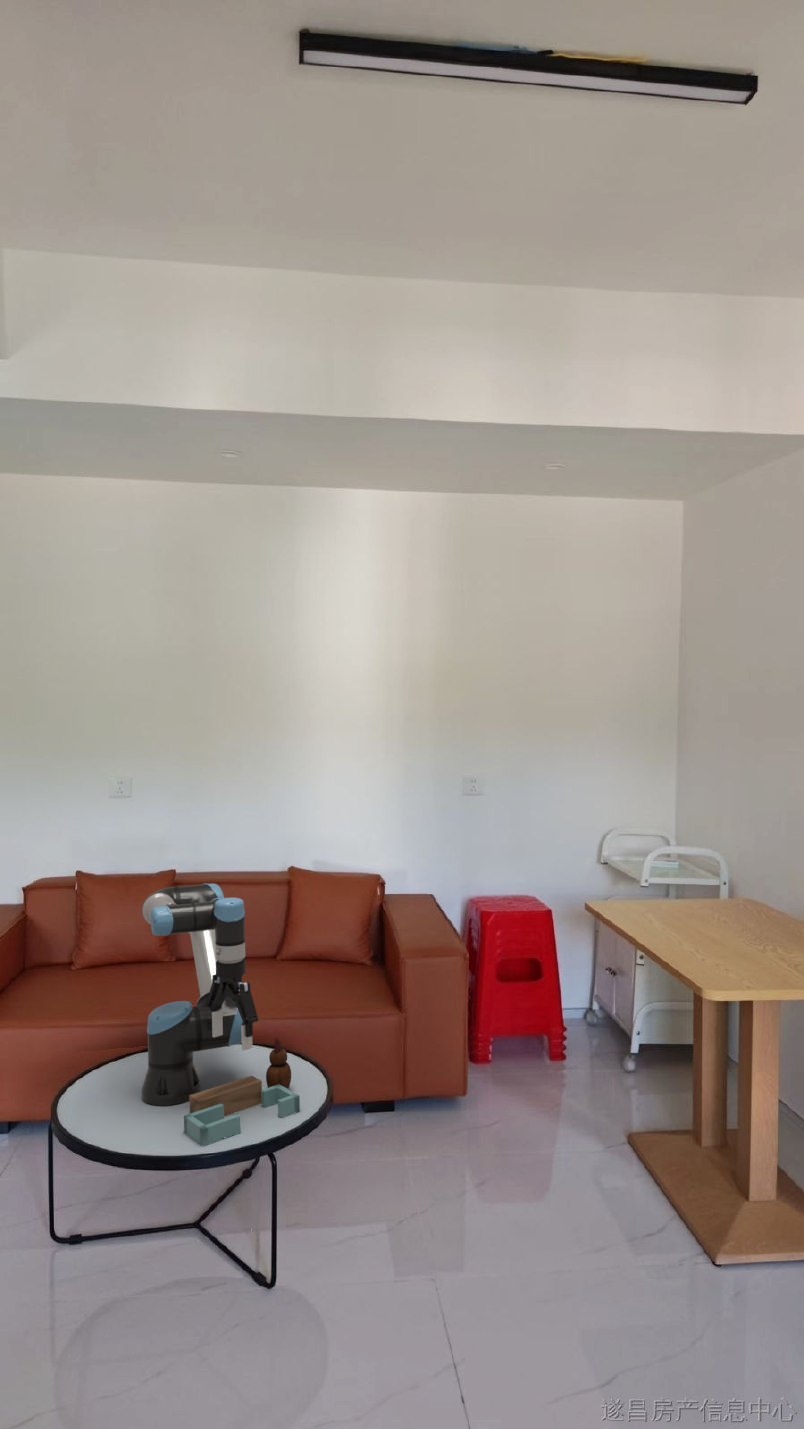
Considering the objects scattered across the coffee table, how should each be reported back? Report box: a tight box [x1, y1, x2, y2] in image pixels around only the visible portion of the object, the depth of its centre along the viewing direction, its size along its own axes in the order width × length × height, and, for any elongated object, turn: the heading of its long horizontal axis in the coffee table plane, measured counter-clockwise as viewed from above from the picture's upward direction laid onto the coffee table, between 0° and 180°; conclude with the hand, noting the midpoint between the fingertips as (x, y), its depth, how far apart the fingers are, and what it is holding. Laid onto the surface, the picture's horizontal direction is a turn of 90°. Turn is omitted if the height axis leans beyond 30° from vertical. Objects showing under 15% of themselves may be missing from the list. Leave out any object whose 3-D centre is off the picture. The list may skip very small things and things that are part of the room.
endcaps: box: [183, 1084, 301, 1147], centre depth 213 cm, size 10×27×4 cm, turn 130°
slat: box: [188, 1075, 263, 1117], centre depth 219 cm, size 5×18×6 cm, turn 131°
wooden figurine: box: [265, 1037, 292, 1089], centre depth 230 cm, size 7×6×15 cm
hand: (232, 1042), depth 221 cm, fingers open, 13 cm apart
